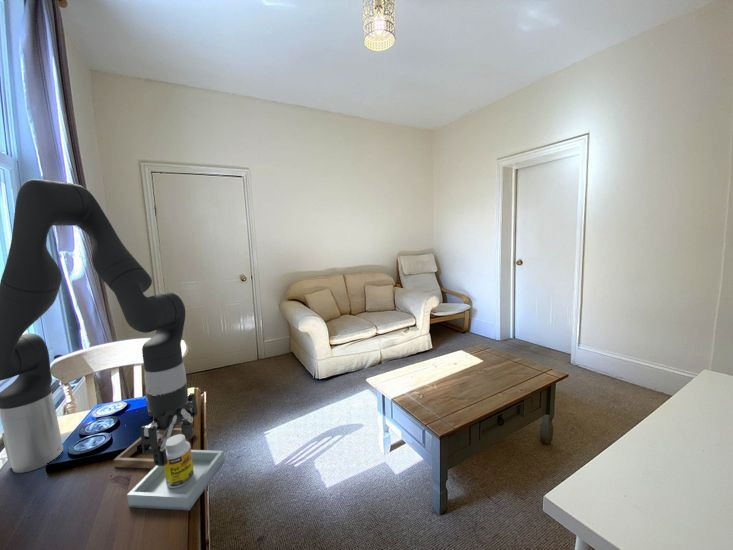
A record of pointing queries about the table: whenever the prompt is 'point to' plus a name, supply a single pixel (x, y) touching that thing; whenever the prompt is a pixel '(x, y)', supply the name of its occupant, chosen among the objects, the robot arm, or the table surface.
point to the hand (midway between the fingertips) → (175, 450)
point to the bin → (161, 496)
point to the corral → (128, 462)
